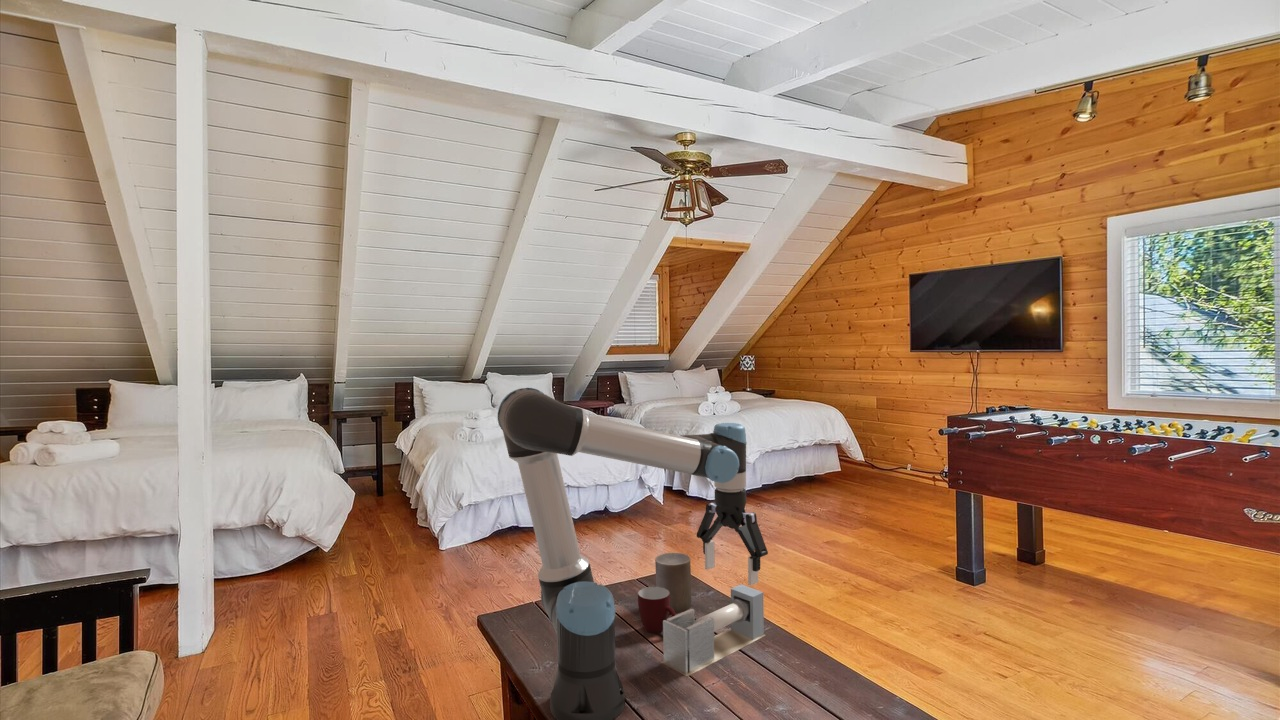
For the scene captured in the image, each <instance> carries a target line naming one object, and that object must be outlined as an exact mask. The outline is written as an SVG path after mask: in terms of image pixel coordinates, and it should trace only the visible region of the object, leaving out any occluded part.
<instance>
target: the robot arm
mask: <svg viewBox="0 0 1280 720" xmlns="http://www.w3.org/2000/svg"><path fill="white" fill-rule="evenodd" d="M497 422H498V425H499V428H500V429H501V430H502V433H503V437H504V441H505V445H506V448H507V449H506V450H507V453H508V457H509V459H511V460H513V461H515V462H516V463H517V465H518V469H519V473H520V476H521V481H522V486H523V490H524V494H525V498H526V501H527V506H528V509H529V513H530V519H531V522H532V527H533V531H534V534H535V535H534V536H535V539H536V543H537V549H538V551H539V556H540V559H541V560H540V561H541V564H542V565H541V568H540V569H539V570H538V572H537V578H538V582H539V586H540V600H541V603H542V606H543V609H544V610H545V613H546V614H547V615H548V618H549V621H550V622H551V625H552V627H553V628H554V632H555V634H556V641H557V672H556V676H555V680H554V684H553V688H552V689H551V693H550V697H549V700H550V701H549V703H550V704H549V705H550V706H549V707H550V712H551V713H550V714H551V715H552V716H553V718H554V719H555V720H614V719H616V718H618V716H620V715H621V714H622V712H623V711H624V709H625V705H626V700H625V698H626V697H625V689H624V686H623V684H622V683H623V682H622V680H621V676H620V675H619V672H618V669H617V667H616V623H615V621H616V619H615V617H616V605H615V600H614V595H613V593H612V592H611V591H610V590H609V588H607V587H606V586H605V585H603V584H598V583H597V582H595V581H594V576H593V571H592V568H591V564H590V560H589V559H588V557H586V556H584V555H583V554H581V550H580V547H579V541H578V538H577V533H576V529H575V525H574V520H573V516H572V512H571V508H570V503H569V499H568V495H567V490H566V486H565V482H564V477H563V473H562V470H561V465H560V460H559V457H558V454H559V455H565V456H571V457H573V456H575V455H576V454H578V453H581V454H585V455H586V454H587V455H591V456H597V457H601V458H608V459H613V460H616V461H622V462H627V463H632V464H637V465H642V466H647V467H651V468H656V469H657V468H658V469H663V470H668V471H673V472H678V473H682V474H688V475H692V476H696V477H702V478H704V479H705V478H706V479H709V480H710V481H712V482H714V484H713V485H714V487H715V489H714V502H710V503H706V505H705V512H704V515H703V517H702V520H701V522H700V525H699V527H698V530H697V533H696V537H697V539H701V541H702V547H703V548H702V552H703V555H704V569H705V570H707V571H708V570H710V569H713V568H715V566H716V564H715V563H716V562H715V547H716V546H715V545H716V543H715V540H714V537H715V536H716V535H717V533H718V532H719V531H720V530H721V528H722V527H725V528H730V529H732V530H734V531H735V533H737V534H738V535H739V537H740V539H741V542H742V543H743V544H744V546H745V548H746V550H747V552H748V553H749V555H750V556H748V557H747V567H748V569H747V576H748V577H747V579H748V580H747V581H748V582H747V584H748V586H754V585H755V584H757V583H759V571H760V570H761V558H762V557H764V556H767V555H769V552H768V549H767V546H766V542H765V541H764V537H763V535H762V533H761V529H760V526H759V524H758V518H757V514H756V512H754V511H753V512H751V513H750V512H747V511H746V505H747V490H746V488H747V444H748V443H747V434H746V428H745V426H744V425H743V424H741V423H736V422H721V423H716V424H715V425H714V427H713V430H712V431H713V432H711V433H703V434H702V433H701V434H686V435H684V434H681V435H678V434H672V433H668V432H664V431H661V430H655V429H651V428H648V427H647V428H645V427H641V426H638V425H633V424H629V423H625V422H619V421H615V420H610V419H606V418H602V417H597V416H593V415H587V414H586V412H585V410H584V409H583V408H580V407H577V406H576V407H575V406H572V405H568V404H565V403H563V402H560V401H559V400H556V399H555V398H552V397H551V396H549V395H547V394H545V393H544V392H543V391H542V390H540V389H537V388H533V387H521V388H517V389H515V390H512V391H511V392H509V393H508V394H506V396H505V397H503V399H502V400H501V401H500V404H499V406H498V409H497ZM715 516H716V518H714V517H715ZM714 519H715V520H714ZM713 520H714V521H713ZM712 522H713V523H712Z"/></svg>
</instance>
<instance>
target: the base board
mask: <svg viewBox="0 0 1280 720" xmlns="http://www.w3.org/2000/svg"><path fill="white" fill-rule="evenodd" d="M764 637H766V634H763V635H761V636H759V637H757V638H756V639H754V640H753V639H751V638H748V637H746V636H744V635H742V634H739V633H737V632H735V631H732V630H731V627H730V628H728V629H725V630H724V631H722V632H720V633H718V634H716V635H714V660H713V661H711V662H709V663H707V664H706V665H704V666H702V667H700V668H698V669H696V670H694V671H692V672H690V673H689V672H688V674H686V675H685V674H684V673H682V672H680V671H678V670H676V669H674V668H672V667H671V666H669V665H667V664H665V663H664V660H662V661H660V663H661V664H663V665H665V666H667V667H669V668H670V669H672V670H674V671H676V672H677V673H679V674H681V675H683V676H685V677H689V676H692V675H693V674H695V673H698V672H699V671H701V670H703V669H705V668H708V667H709V666H711V665H712V664H714V663H716V662H719V661H720V660H721V659H723V658H726V657H727V656H730V655H731V654H733V653H735V652H737V651H739V650H741V649H742V648H745V647H747V646H749V645H750V644H752V643H755V642H756V641H758V640H761V639H762V638H764Z"/></svg>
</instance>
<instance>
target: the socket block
mask: <svg viewBox="0 0 1280 720" xmlns="http://www.w3.org/2000/svg"><path fill="white" fill-rule="evenodd" d="M735 599H739V600H741V599H745V600H747V601H750V615H748V616H747V618H746V619H745V620H744V621H742V622H734V623H732V624H730V628H731V630H732V631H735V632H737V633H739V634H742V635H744V636H746V637H748V638H751V639H753V640H754V639H756V638H757V637H759V636H761V635H763V634H764V633H765V632H764V630H765V629H764V623H765V622H764V619H765V616H764V613H765V612H764V611H765V610H764V592H763V591H761V590H758V589H755V588H752V587H749V586H747V585H744V584H742V583H741V584H738V585H736V586H734V587H731V588H730V602H731V601H732V600H735ZM764 635H765V634H764Z"/></svg>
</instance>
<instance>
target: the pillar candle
mask: <svg viewBox="0 0 1280 720" xmlns="http://www.w3.org/2000/svg"><path fill="white" fill-rule="evenodd" d="M654 561H655V563H654V564H655V587H662V588H665V589H667V590H668V591H669V592H670V607H671V608H673V609H674V611H675V613H676V614H677V613H678V614H680V613H682V612H685V611H687V610H689V609H692V607H693V605H692V571H691V570H692V569H691V568H692V567H691V557H690V556H689V555H688V554H685V553H681V552H668V553H660V554H659V555H657V556H656V557H655V559H654ZM668 616H671V614H670V613H669V614H668Z"/></svg>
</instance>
